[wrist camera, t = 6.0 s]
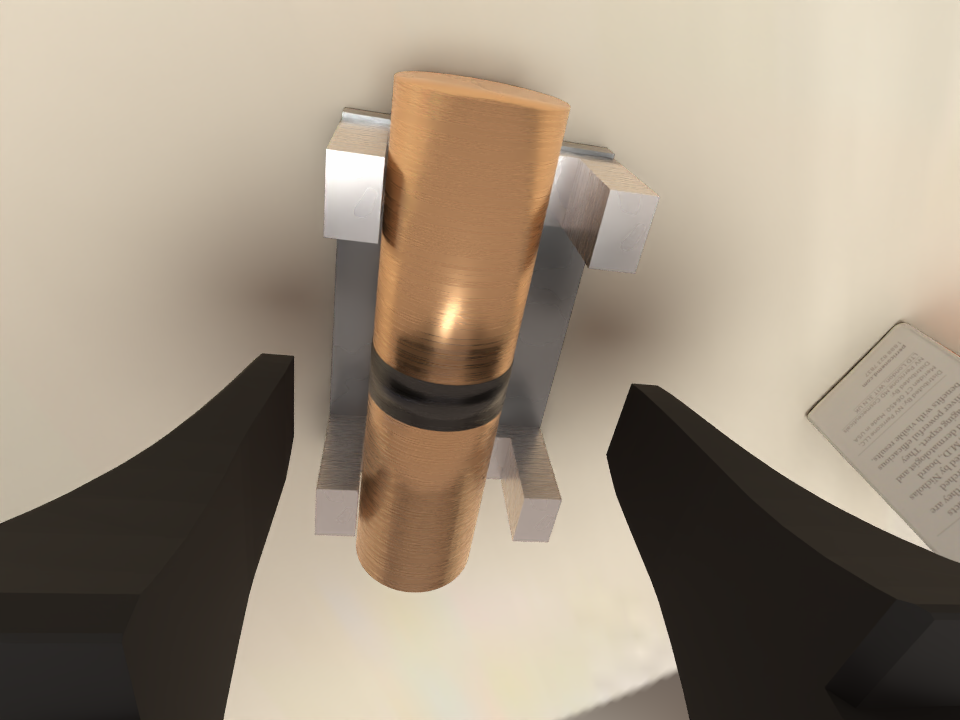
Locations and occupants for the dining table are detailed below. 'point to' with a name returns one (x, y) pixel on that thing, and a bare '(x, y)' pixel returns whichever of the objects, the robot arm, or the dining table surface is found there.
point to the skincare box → (903, 431)
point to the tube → (448, 311)
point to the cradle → (555, 280)
